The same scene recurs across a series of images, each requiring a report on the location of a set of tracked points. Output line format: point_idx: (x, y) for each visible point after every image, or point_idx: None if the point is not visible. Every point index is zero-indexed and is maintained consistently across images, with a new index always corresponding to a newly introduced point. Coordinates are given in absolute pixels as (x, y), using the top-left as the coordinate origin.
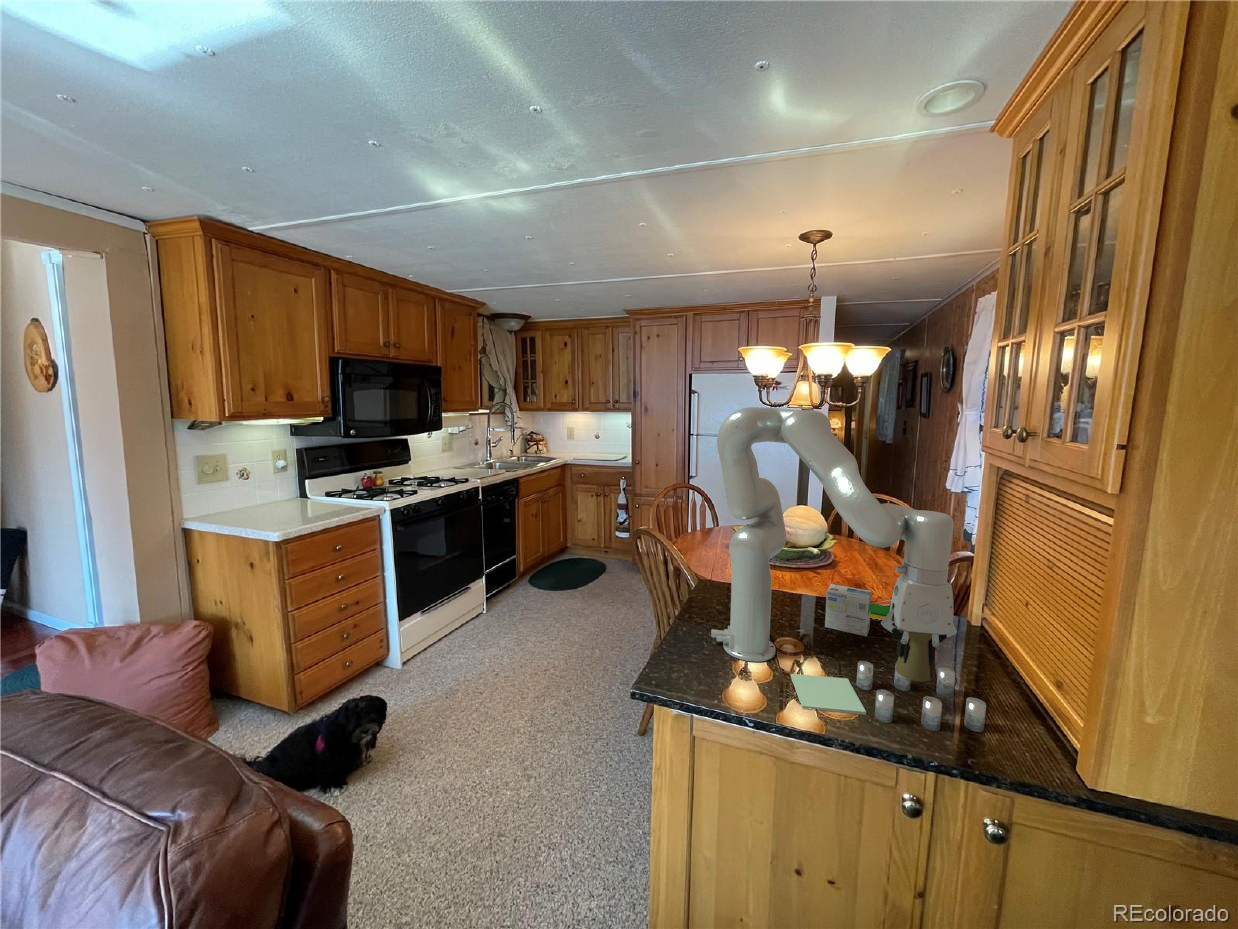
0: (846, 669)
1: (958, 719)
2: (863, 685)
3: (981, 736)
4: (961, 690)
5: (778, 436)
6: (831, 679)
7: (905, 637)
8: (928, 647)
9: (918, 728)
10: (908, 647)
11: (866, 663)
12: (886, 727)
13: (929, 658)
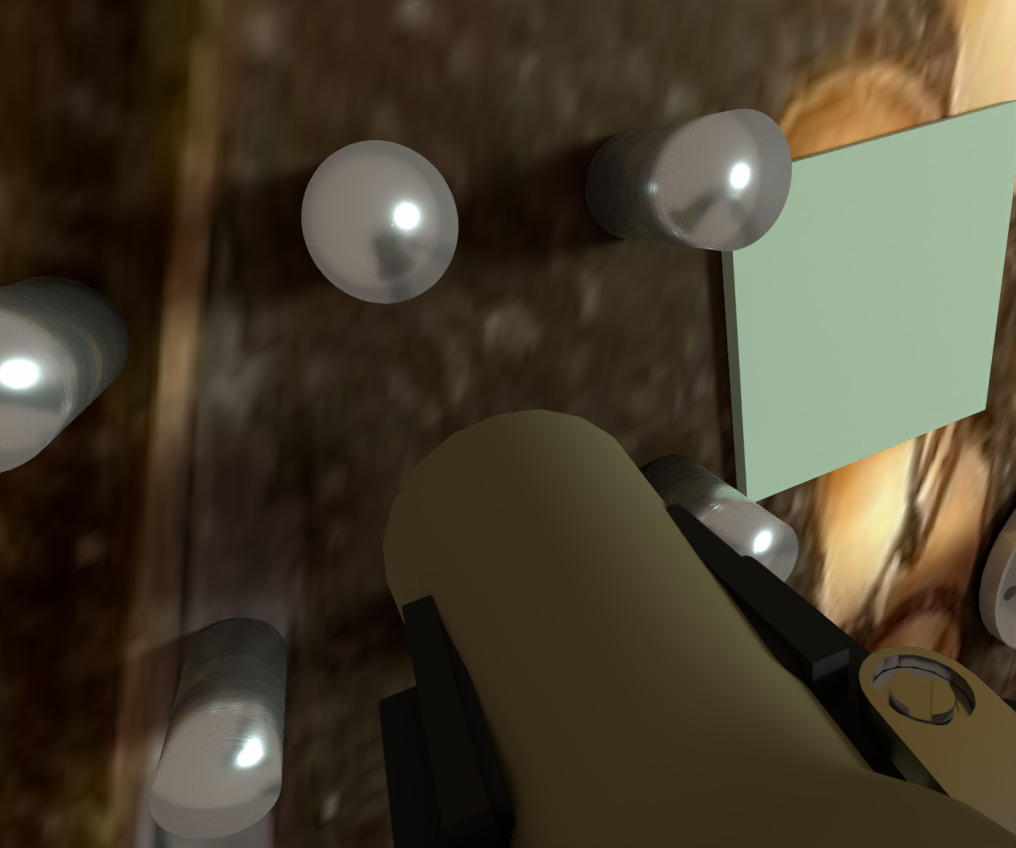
0: None
1: (167, 389)
2: (693, 465)
3: (6, 225)
4: (130, 746)
5: None
6: (824, 452)
7: (988, 757)
8: (511, 803)
9: (441, 149)
10: (793, 633)
11: None
12: (630, 78)
13: (447, 659)
